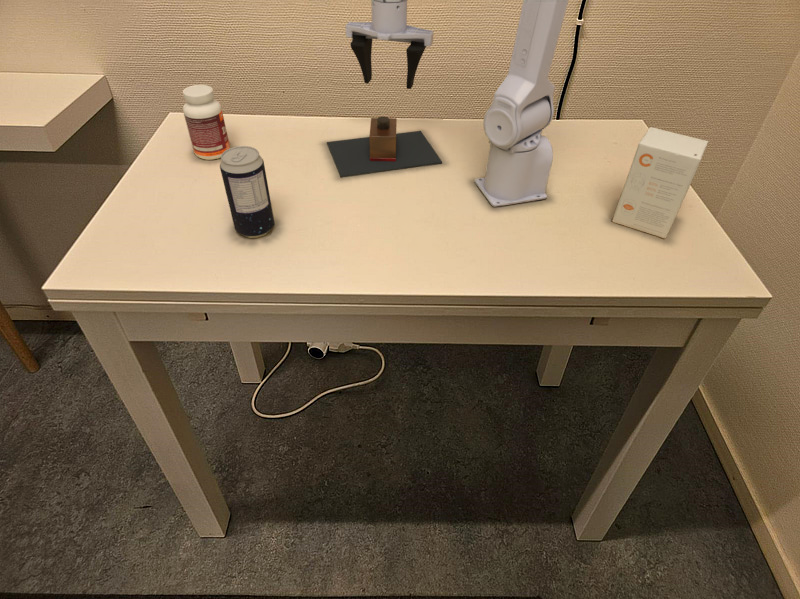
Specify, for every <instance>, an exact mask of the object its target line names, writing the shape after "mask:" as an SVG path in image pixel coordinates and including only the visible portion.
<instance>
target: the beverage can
mask: <svg viewBox="0 0 800 599" xmlns="http://www.w3.org/2000/svg"><path fill="white" fill-rule="evenodd" d="M264 162H265V161H264V158H262V156H261V155H260V151H259V150H258V149H257V148H255V147H252V146H248V145H237V146H233V147H230V149H227V150H226V151H224V152H223V153H222V155H221V158H220V163H219V169H220V170H219V171H220V174H221V177H222V182H223V186H224V190H225V194H226V199H227V202H228V206H229V211H230V215H231V219H232V222H233V223H232V224H233V228H234V231H235V232H237V233H238V234H239V235H241V236H243V237H245V238H249V239H258V238H261V237H264V236H265V235H267V234H268V233H269V232H270V231H271V230H272V229H273V228H274V226H275V218H274V217H275V216H274V211H273V207H272V206H273V205H272V200H271V195H270V190H269V184H268V178H267V172H266V167H265V163H264Z"/></svg>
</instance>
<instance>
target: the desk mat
mask: <svg viewBox="0 0 800 599" xmlns="http://www.w3.org/2000/svg"><path fill="white" fill-rule="evenodd" d="M326 145H327V148H328V150H329V153H330V155H331V158H332V160H333V163H334V165H335V167H336V170H337V172H338V175H339V177H340V178H345V177H353V176H361V175H362V176H363V175H369V174H376V173H381V172H382V173H383V172H391V171H397V170H405V169H412V168H420V167H428V166H434V165H441V164H443V161H442V159H441V158H440V156H439V154H438V153H437V152H436V150H435V149H434V148H433V146H432V145H431V143H430V142H429V141H428V139H427V138H426V136H425V135H424V133H423V131H421V130H417V131H416V130H415V131H407V132H397V133H396V161H370V143H369V136H366V137H357V138H350V139H349V138H348V139H341V140H332V141H326Z"/></svg>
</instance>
